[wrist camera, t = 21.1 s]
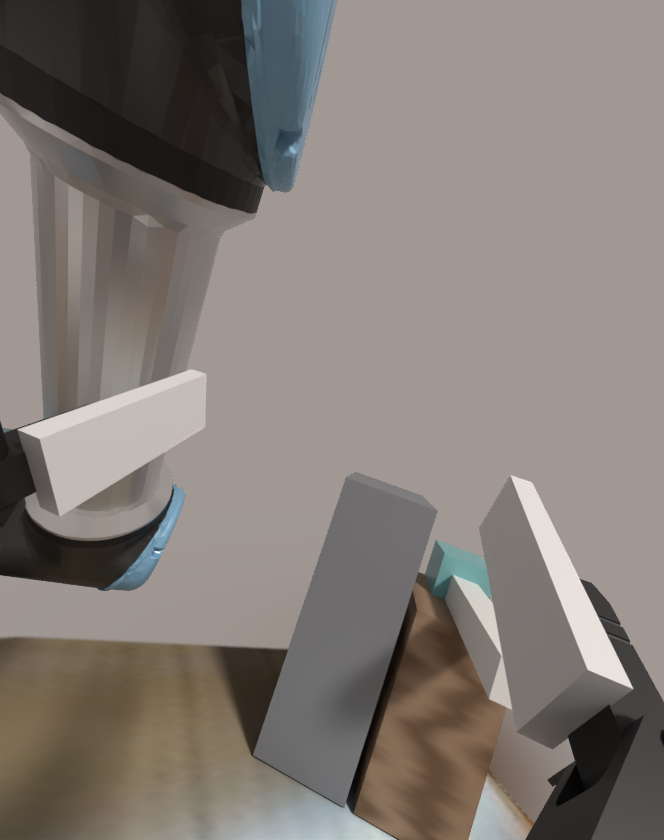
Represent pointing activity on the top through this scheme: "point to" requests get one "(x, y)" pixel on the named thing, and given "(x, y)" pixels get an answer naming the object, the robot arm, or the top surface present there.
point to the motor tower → (346, 635)
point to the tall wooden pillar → (427, 731)
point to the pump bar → (471, 612)
